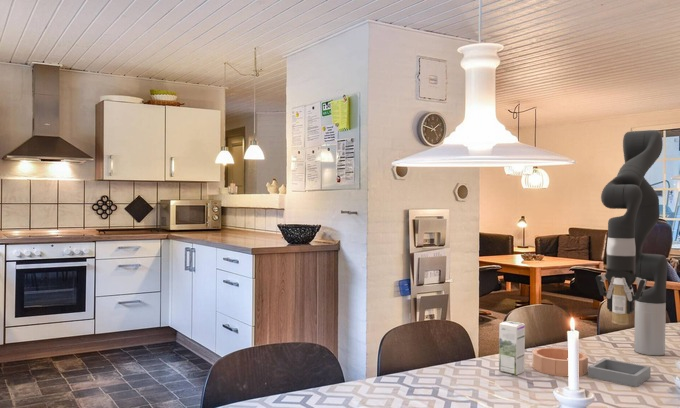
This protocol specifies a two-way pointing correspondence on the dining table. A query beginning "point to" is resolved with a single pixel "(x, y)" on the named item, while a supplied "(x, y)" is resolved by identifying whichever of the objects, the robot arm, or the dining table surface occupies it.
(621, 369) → the gray square frame
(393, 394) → the dining table surface
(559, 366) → the bowl
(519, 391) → the dining table surface
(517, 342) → the syrup box
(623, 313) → the sprinkles bottle
